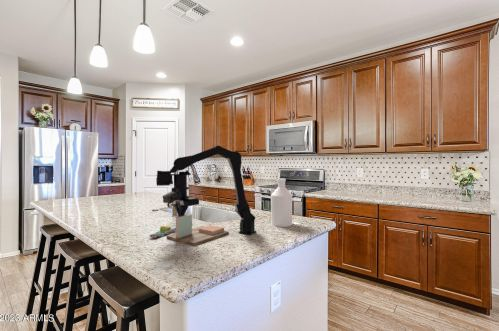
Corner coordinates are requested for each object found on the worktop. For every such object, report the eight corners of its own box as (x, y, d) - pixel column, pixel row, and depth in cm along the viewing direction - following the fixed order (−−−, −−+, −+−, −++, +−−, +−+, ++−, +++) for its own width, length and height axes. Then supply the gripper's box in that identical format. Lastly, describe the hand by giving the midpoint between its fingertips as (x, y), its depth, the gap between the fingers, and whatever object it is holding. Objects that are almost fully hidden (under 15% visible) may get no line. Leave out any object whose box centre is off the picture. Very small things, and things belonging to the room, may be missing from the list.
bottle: (266, 224, 146) (266, 179, 146) (277, 220, 156) (277, 177, 155) (286, 227, 139) (286, 179, 139) (296, 223, 149) (296, 178, 149)
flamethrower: (141, 237, 122) (158, 241, 119) (141, 231, 122) (158, 235, 118) (180, 224, 149) (195, 227, 145) (180, 220, 149) (196, 222, 145)
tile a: (210, 228, 134) (224, 231, 128) (198, 232, 127) (212, 234, 122) (210, 225, 134) (224, 227, 128) (198, 228, 127) (212, 231, 122)
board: (228, 233, 128) (228, 231, 128) (194, 245, 110) (194, 242, 110) (202, 228, 139) (202, 226, 139) (166, 238, 121) (166, 235, 121)
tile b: (192, 233, 124) (191, 214, 124) (178, 237, 118) (178, 217, 117) (189, 233, 125) (189, 214, 125) (175, 237, 119) (175, 217, 118)
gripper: (152, 185, 121) (153, 219, 122) (179, 187, 110) (180, 225, 111) (172, 183, 130) (173, 215, 131) (199, 185, 119) (200, 220, 120)
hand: (181, 219), depth 123 cm, fingers closed
